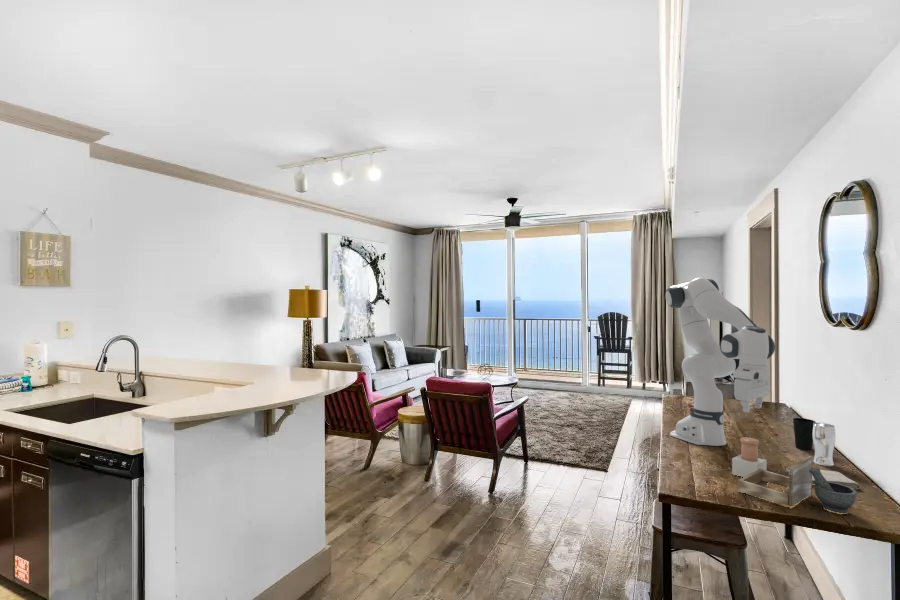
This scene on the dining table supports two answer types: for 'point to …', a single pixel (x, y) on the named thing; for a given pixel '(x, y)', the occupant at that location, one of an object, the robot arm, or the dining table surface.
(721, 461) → the dining table surface
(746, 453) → the terracotta pot
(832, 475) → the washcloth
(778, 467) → the dining table surface
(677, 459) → the dining table surface
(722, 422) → the robot arm
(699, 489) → the dining table surface
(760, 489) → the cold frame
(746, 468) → the block
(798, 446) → the cup
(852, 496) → the mortar and pestle
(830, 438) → the beer glass
